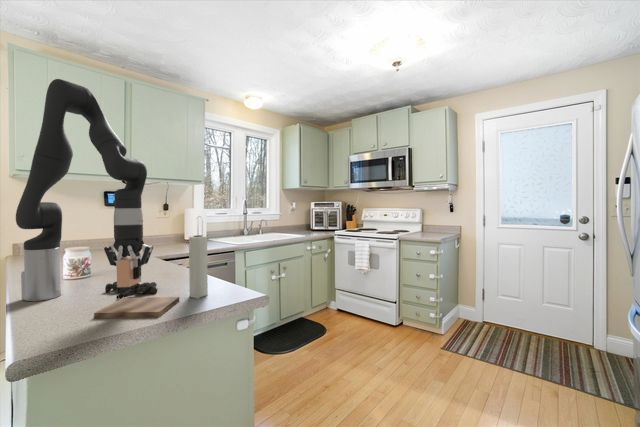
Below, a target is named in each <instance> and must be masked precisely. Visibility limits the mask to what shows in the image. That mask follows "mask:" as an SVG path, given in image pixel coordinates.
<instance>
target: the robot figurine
mask: <svg viewBox="0 0 640 427" xmlns="http://www.w3.org/2000/svg"><path fill="white" fill-rule="evenodd" d="M104 290H105V293H110V292H111V290H113V291H117V292H118V293H120V294H119V295H116V297H115V298H116V300H120V299H122V298H129V297H131V296H134V294H141V293H142V294H145V293H150V294H151V295H156V294H157V293H158V288H157V283H156V282H155V281H153V282H147V281H146V282H143V283H140V282H139V283H137V284H135V285H132V286H130V287H117V281H114V282H112V283H107V284H106V285H105V289H104Z"/></svg>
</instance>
